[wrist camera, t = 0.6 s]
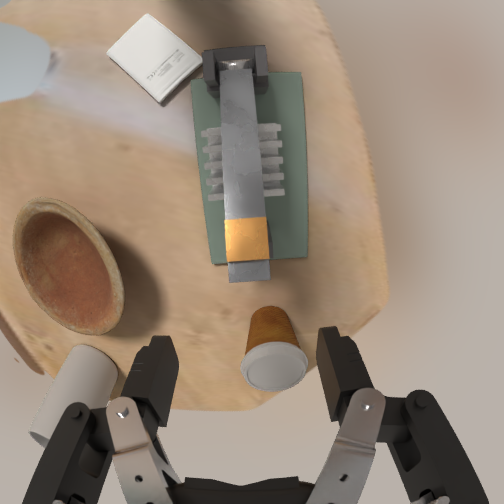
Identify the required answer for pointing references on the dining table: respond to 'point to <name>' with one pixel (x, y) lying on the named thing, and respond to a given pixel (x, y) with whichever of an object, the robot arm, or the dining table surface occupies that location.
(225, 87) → the strap
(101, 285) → the bowl
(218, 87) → the hinge post
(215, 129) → the heatsink
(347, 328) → the dining table surface
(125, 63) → the external hard drive
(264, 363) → the disposable coffee cup
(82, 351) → the cylinder vase
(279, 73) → the board
